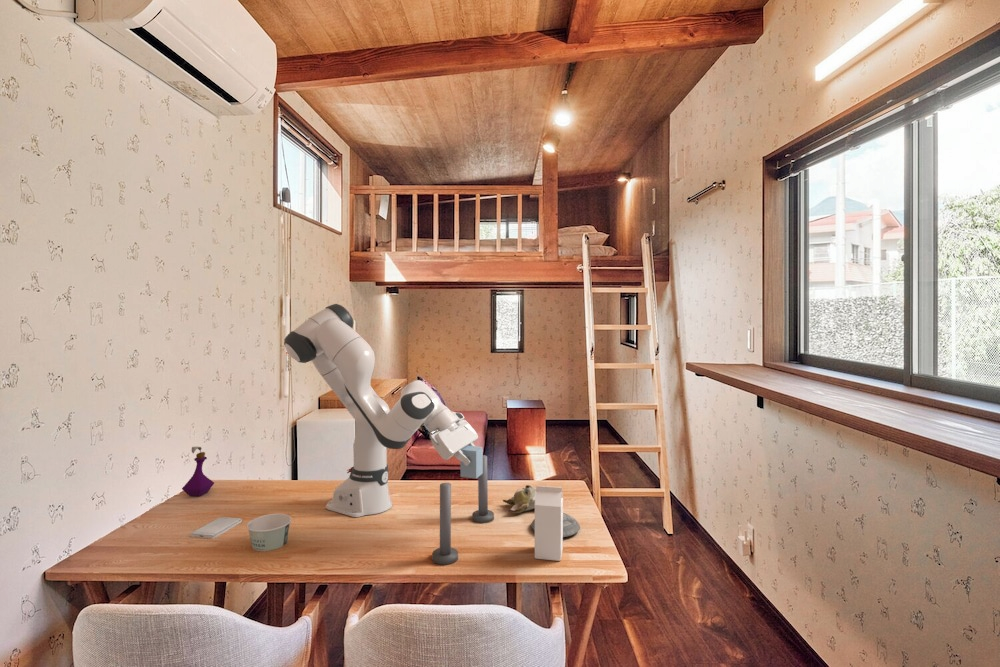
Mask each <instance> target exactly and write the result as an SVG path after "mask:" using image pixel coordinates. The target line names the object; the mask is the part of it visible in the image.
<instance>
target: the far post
mask: <svg viewBox="0 0 1000 667" xmlns="http://www.w3.org/2000/svg"><path fill="white" fill-rule="evenodd" d="M477 479H478V480H477V481H478V482H477V488H478V490H477V492H478V494H477V495H478V496H477V498H478V502H477V504H478V505H477V506H478V507H477V508H478V510H477V509H476V510H475V511H473V512H472V514H471V515H472V516H471V519H472V521H473V522H475V523H477V524H489V523H491V522H493V521H494V519H495V514H494V512H493V511H492V510H490V509H489V508H488V507H489V504H488V501H489V500H488V499H489V498H488V491H489V490H488V484H489V483H488V456H487V455H485V454H483V474H481V475H480V476H479V477H478V478H477Z"/></svg>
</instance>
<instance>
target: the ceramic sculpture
mask: <svg viewBox="0 0 1000 667" xmlns="http://www.w3.org/2000/svg"><path fill="white" fill-rule="evenodd" d="M535 497H536V488H535V487H533V486H531V485H527V484H526V485H525V487H523V488H518V489H517V490H516V491H515V492H514V495H513V496H512V497H510V498H509V499H502V502H503V503H505V504H507V505H510V506H512V507H511V508H510V509H508V510H507V511H508V512H509V513H513V514H514V513H515V514H521V513H523V512H527V511H530V510H535Z"/></svg>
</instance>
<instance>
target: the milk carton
mask: <svg viewBox="0 0 1000 667" xmlns="http://www.w3.org/2000/svg"><path fill="white" fill-rule="evenodd" d="M535 490H536V497H535V508H534V519H535V531H534V559H538V560H546V561H556V562H560V561H561V560H562V554H563V549H564V547H563V546H564V537H563V513H564V495H563V487H562V486H561V487H560V486H547V485H544V486H543V485H536V487H535Z"/></svg>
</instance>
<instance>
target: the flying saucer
mask: <svg viewBox="0 0 1000 667" xmlns="http://www.w3.org/2000/svg"><path fill="white" fill-rule="evenodd" d="M530 527H531V528H532V530H533V531H534V532H535V518H533V520H532V521H531V524H530ZM580 530H581V526H580V524H579V522H578V520H576V518H574V517H573V516H571V515H569V514H567V513H564V512H563V538H565V537H566V538H567V537H571V536H573V535H576V534H577V533H578V532H579V531H580Z"/></svg>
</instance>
